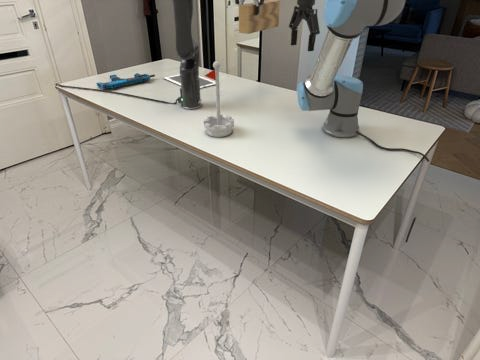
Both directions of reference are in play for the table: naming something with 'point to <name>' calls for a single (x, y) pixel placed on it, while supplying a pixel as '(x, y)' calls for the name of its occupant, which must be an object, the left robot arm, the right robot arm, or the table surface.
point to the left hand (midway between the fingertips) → (249, 14)
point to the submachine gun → (124, 81)
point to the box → (258, 16)
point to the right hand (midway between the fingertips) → (301, 48)
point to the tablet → (203, 81)
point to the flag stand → (218, 111)
